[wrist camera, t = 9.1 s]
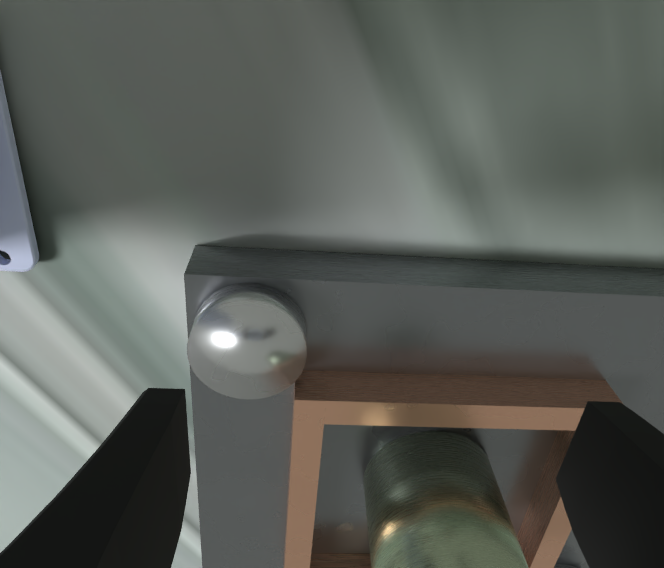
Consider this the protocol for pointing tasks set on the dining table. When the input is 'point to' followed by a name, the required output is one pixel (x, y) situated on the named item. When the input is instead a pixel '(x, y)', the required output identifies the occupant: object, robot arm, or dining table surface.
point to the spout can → (437, 506)
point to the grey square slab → (398, 386)
